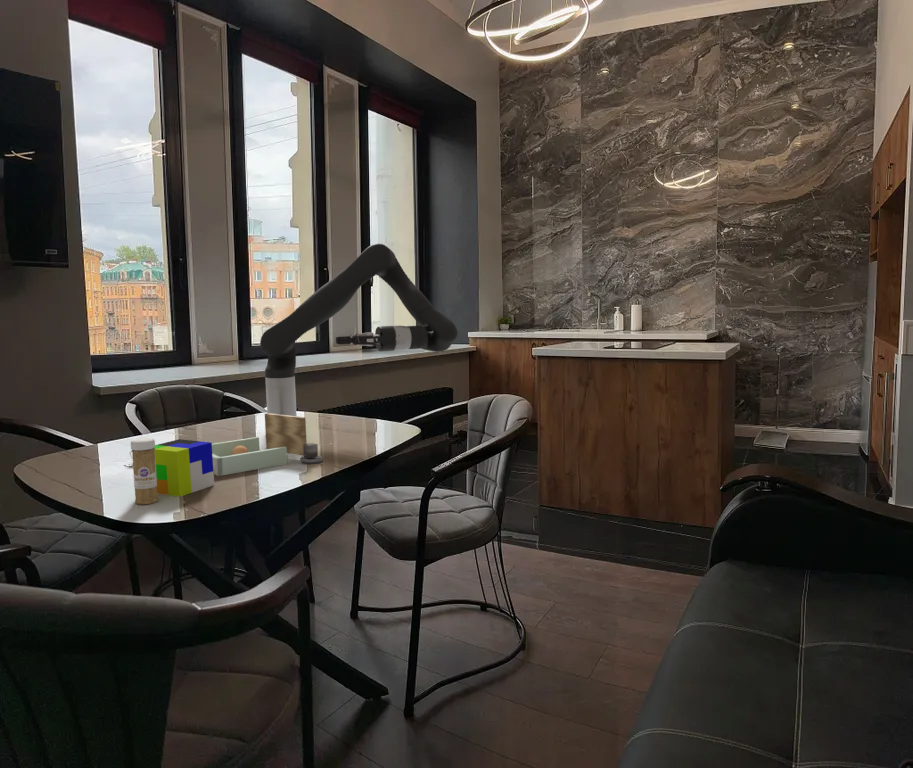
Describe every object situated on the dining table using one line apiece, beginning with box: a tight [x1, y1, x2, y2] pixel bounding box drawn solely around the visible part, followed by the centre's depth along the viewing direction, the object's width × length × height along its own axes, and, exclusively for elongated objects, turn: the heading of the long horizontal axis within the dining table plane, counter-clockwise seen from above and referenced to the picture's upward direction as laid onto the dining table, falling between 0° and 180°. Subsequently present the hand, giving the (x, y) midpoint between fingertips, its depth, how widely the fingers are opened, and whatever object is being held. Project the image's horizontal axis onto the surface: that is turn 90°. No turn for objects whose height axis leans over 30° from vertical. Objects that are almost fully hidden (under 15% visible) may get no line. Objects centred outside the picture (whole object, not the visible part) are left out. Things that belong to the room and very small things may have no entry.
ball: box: [232, 446, 248, 455], centre depth 176 cm, size 4×4×4 cm
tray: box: [212, 436, 288, 477], centre depth 173 cm, size 18×18×4 cm
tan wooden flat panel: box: [264, 412, 319, 458], centre depth 178 cm, size 18×4×10 cm, turn 57°
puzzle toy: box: [154, 438, 215, 498], centre depth 151 cm, size 10×10×10 cm
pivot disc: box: [299, 455, 323, 465], centre depth 174 cm, size 6×6×1 cm
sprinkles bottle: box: [130, 437, 159, 506], centre depth 140 cm, size 5×5×13 cm
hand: (336, 340), depth 193 cm, fingers closed
